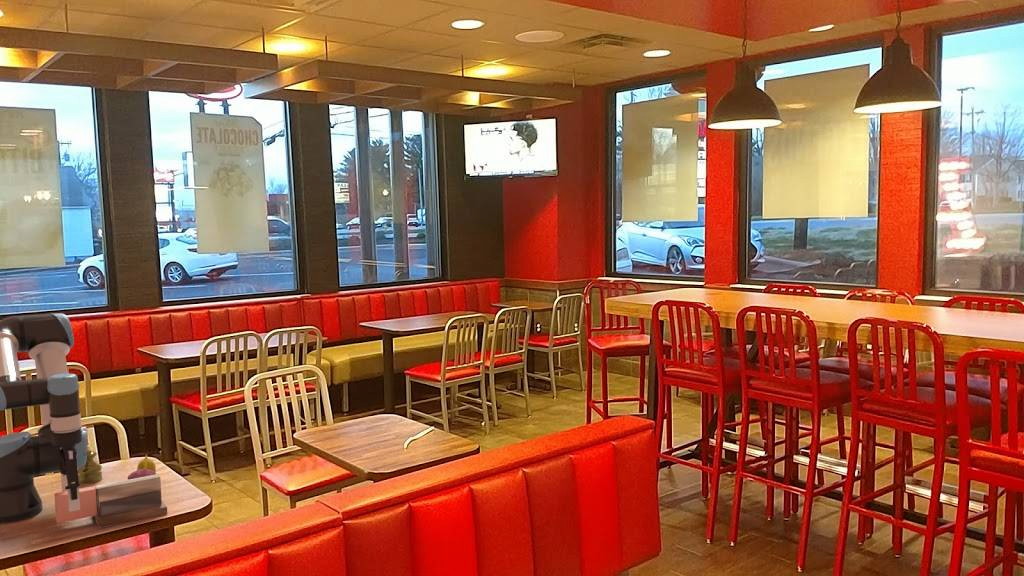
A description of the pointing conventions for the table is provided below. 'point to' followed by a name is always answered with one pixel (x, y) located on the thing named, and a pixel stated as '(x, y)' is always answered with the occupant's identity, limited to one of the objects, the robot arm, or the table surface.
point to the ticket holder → (129, 500)
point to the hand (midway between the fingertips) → (71, 503)
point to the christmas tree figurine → (90, 470)
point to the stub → (86, 505)
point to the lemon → (149, 465)
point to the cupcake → (142, 472)
